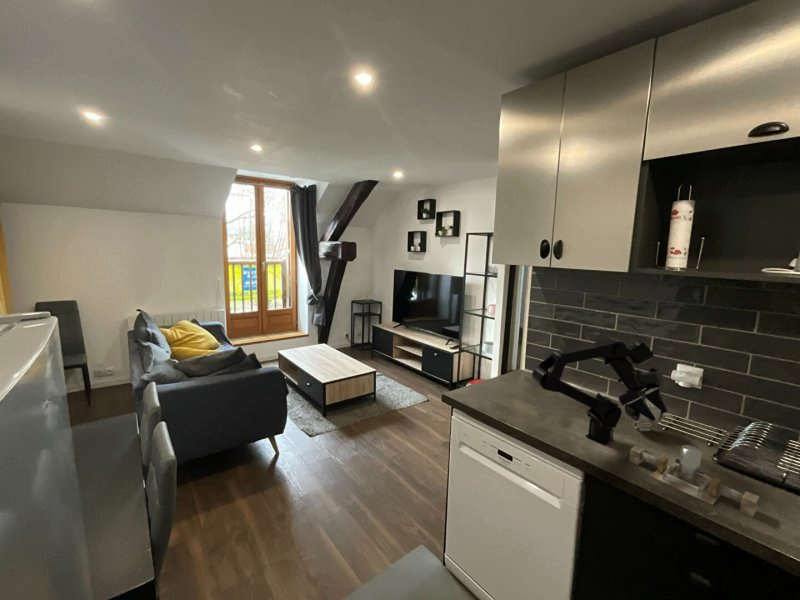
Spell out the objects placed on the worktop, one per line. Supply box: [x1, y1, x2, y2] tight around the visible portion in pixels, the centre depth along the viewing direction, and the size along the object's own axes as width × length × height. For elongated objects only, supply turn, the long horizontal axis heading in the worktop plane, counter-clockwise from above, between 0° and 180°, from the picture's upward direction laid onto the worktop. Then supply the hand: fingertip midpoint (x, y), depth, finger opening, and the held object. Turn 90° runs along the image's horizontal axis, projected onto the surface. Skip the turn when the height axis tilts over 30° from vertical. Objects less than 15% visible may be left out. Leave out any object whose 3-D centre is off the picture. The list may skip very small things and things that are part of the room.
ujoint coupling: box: [674, 444, 706, 486], centre depth 100 cm, size 7×4×10 cm
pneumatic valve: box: [624, 399, 665, 432], centre depth 129 cm, size 6×12×12 cm, turn 94°
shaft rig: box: [628, 445, 760, 518], centre depth 100 cm, size 28×10×4 cm, turn 35°
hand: (660, 416), depth 112 cm, fingers open, 9 cm apart
